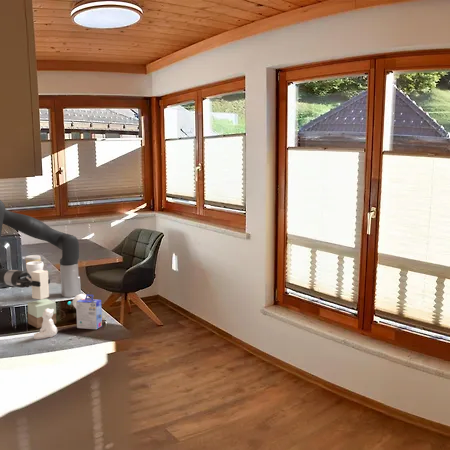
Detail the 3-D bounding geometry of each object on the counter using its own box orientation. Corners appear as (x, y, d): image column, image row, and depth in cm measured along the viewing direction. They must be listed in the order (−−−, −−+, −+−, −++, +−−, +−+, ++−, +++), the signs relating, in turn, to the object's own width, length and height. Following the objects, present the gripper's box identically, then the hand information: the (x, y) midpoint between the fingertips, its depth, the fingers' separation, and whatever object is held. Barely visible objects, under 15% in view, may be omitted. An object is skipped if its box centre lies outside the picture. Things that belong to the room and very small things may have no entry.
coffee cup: (38, 276, 313) (37, 257, 312) (23, 276, 313) (22, 257, 312) (44, 273, 323) (43, 254, 321) (29, 273, 323) (28, 254, 321)
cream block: (40, 295, 231) (39, 269, 229) (49, 296, 229) (48, 270, 227) (32, 298, 226) (31, 272, 225) (40, 299, 224) (39, 273, 222)
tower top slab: (46, 308, 235) (46, 298, 234) (56, 313, 229) (55, 302, 228) (28, 313, 228) (27, 302, 228) (37, 317, 222) (36, 306, 221)
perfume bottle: (82, 306, 242) (61, 307, 245) (91, 312, 249) (70, 313, 252) (85, 291, 245) (64, 292, 249) (94, 297, 252) (73, 298, 255)
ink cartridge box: (102, 325, 226) (101, 294, 224) (97, 329, 221) (96, 297, 218) (82, 324, 228) (81, 293, 226) (76, 328, 223) (75, 296, 220)
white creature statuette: (41, 331, 219) (40, 304, 217) (61, 331, 219) (60, 305, 217) (32, 339, 210) (31, 311, 208) (53, 339, 209) (51, 312, 208)
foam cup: (47, 283, 296) (46, 262, 295) (34, 287, 289) (33, 265, 287) (37, 281, 301) (36, 260, 300) (23, 285, 294) (22, 263, 292)
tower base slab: (46, 319, 236) (46, 308, 235) (56, 323, 229) (55, 312, 229) (28, 323, 229) (27, 313, 228) (37, 328, 223) (36, 317, 222)
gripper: (3, 273, 226) (31, 278, 218) (28, 267, 238) (56, 271, 231) (4, 290, 227) (32, 295, 219) (29, 282, 240) (56, 287, 232)
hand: (44, 282), depth 225 cm, fingers closed on cream block, 5 cm apart
